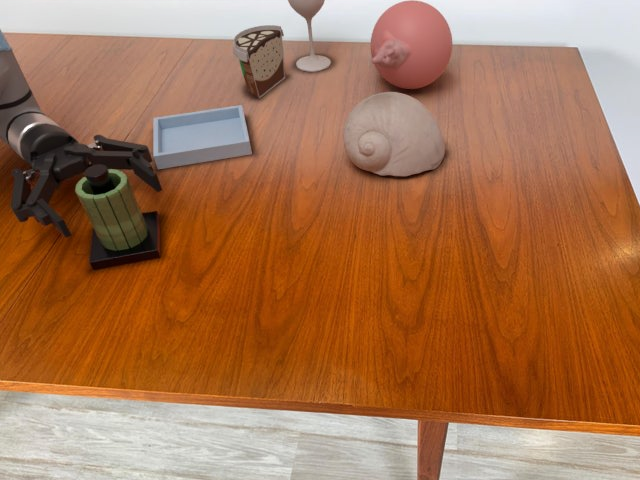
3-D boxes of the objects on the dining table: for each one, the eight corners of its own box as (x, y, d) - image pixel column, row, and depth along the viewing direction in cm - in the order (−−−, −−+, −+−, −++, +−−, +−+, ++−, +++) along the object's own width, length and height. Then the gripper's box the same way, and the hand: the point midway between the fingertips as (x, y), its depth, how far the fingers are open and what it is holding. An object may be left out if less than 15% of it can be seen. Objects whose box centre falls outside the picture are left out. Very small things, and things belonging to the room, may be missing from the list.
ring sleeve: (99, 254, 80) (73, 202, 73) (102, 225, 84) (77, 173, 78) (147, 245, 81) (125, 193, 74) (148, 217, 85) (127, 165, 79)
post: (93, 270, 80) (54, 197, 71) (97, 229, 86) (62, 157, 77) (160, 257, 81) (130, 184, 72) (160, 218, 87) (132, 146, 78)
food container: (264, 69, 121) (255, 19, 113) (289, 74, 119) (282, 25, 111) (228, 95, 113) (217, 44, 106) (254, 102, 111) (244, 51, 104)
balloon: (340, 98, 112) (334, 15, 101) (402, 59, 122) (402, -19, 111) (405, 122, 105) (405, 37, 94) (464, 80, 116) (471, -1, 105)
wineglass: (304, 53, 125) (291, -55, 110) (337, 58, 123) (328, -52, 108) (289, 69, 120) (273, -43, 105) (322, 74, 118) (312, -39, 103)
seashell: (356, 182, 104) (322, 150, 90) (383, 111, 105) (353, 67, 91) (434, 204, 99) (410, 172, 85) (461, 128, 100) (442, 85, 86)
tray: (157, 169, 96) (153, 156, 94) (157, 130, 105) (153, 117, 103) (252, 154, 99) (249, 141, 97) (244, 117, 107) (241, 104, 105)
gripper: (127, 135, 98) (197, 187, 88) (-26, 202, 86) (34, 271, 76) (112, 94, 93) (184, 144, 83) (-54, 159, 81) (6, 227, 70)
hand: (113, 205), depth 79 cm, fingers open, 13 cm apart
